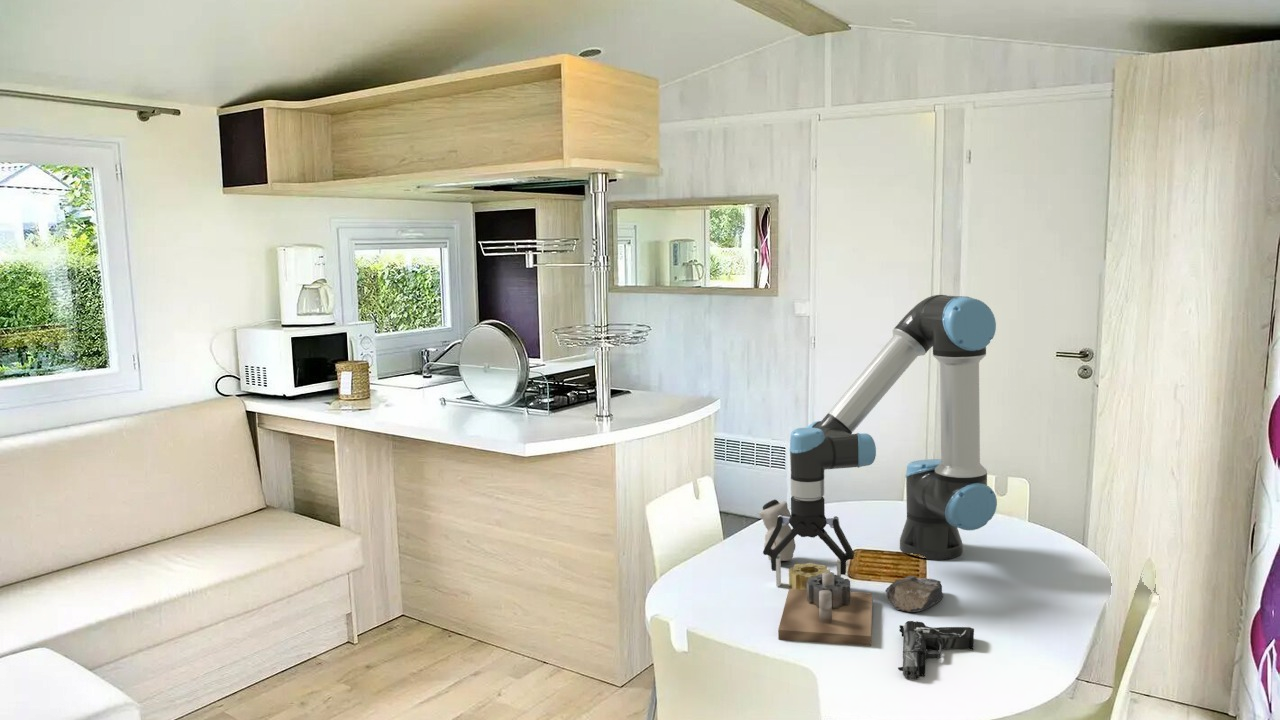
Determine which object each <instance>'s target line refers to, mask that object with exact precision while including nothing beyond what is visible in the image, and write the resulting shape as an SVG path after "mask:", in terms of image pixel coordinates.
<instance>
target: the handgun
mask: <svg viewBox="0 0 1280 720" xmlns="http://www.w3.org/2000/svg"><path fill="white" fill-rule="evenodd" d="M899 633H901V637H903V643H902V645H903V646H902V666H899V667H897V669H898V671H900V672H902V675H903V677H904V678H905V679H907V680H912V681H913V680H918V679H919V678H920V676H923V677H926V661H927V660H930V659H931V660H932V659H934V660H937V659H940V658H941V657H942V651H943V650H972V651H973V650H974V641H975V639H974V638H975V637H974V635H975V629H974V628H973V627H970V626H946V627H945V626H944V627H943V626H942V627H932V626H927V625H925V623H924V622H922V621H917V620H916V621H914V620H908V621H906V622H905V623H904V625H899ZM928 651H936V652H937V653H932V652H928Z"/></svg>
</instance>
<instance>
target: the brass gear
mask: <svg viewBox="0 0 1280 720" xmlns="http://www.w3.org/2000/svg"><path fill="white" fill-rule="evenodd" d="M823 572H831V569H828V566H827V565H825V564H821V565H820V564H818V563H817V564H815V562H807V563H801V564H800V563H796V564H793V567H789V569H788V585H789V587H791V589H804V590H807V583H808V581H807V579H808V578H809V577H815V576H818V575H819V574H822V573H823Z"/></svg>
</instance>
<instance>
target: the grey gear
mask: <svg viewBox="0 0 1280 720" xmlns="http://www.w3.org/2000/svg"><path fill="white" fill-rule="evenodd" d="M807 581H808V583H807V601H808V602H809V603H813V604H815V605H816V606H817V607H819V591H821V590H829V591H831V592H832V608H839V606H842V605H848V604H849V603H850V592H851V580H850V579H849V578H844V577H842V575H841V576H839V575H837V574H834V585H829V586H827V585H823V584H822V574H819V575H818V576H815V577H809V578H808V579H807Z"/></svg>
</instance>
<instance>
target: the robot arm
mask: <svg viewBox="0 0 1280 720" xmlns="http://www.w3.org/2000/svg"><path fill="white" fill-rule="evenodd" d="M996 330H997V322H996V317H995V314H994V313H993V311H992V308H991V307H989V306H988V305H987V304H986V303H985V302H984V301H982V300H980V299H977V298H973V297H970V296H967V295H966V296H962V295H961V296H960V295H947V294H934V295H931V296H928V297H926V298H924V299H923V300H921V301H920V302H918V303H917V304H915V305H914V307H912V308H911V309H910V310H909V311H908V312H907V313H906V314H905V315H904V316H903V318H902V319H901V320H900V321H899V322H898V323H897V324H896V325H895V327H893V329H892V337H891V338H890V339H889V340H888V342H887V343H885V345H884V346H883V348H882V349H881V350H880V351H879V352H878V353H877V354H876V356H875V357H874V358H873V359H872V361H871V362H870V363H869V364H867V366H866V368H865V369H864V370H863V371H862V373H861V374H859V376H858V377H857V378H856V379H855V381H854V382H853V383H852V385H850V386H849V388H848V389H847V390H846V392H844V393H843V395H842V396H841V397H840V398H839V400H838V401H837V402H836V403H835V405H833V407H832V408H831V409H830V410H829V412H827V414H826V415H825V416H824V417H823V418H822V420H817V421H813V422H812V423H810V424H809V425H808V426H807V427H798V428H795V429H793V430H792V431H791V433H790V439H789V456H790V457H789V459H790V495H791V498H790V514H791V516H790V517H786V516H783V515H782V514H779V516H778V519H777V525H776V527H775V529H774V531H773V533H772V535H771V537H770V539H769V540H768V542H767V544H766V546H765V547H764V548H763V552H762V554H763V555H764V556H767V557H768V556H770V557H771V560H770V563H771V564H770V567H771V570H772V572H775V574H776V575H775V578H776V579H775V583H776V587H780V585H781V583H782V571H781V570H782V569H781V568H782V567H781V562H782V561H781V557H780V555H778V554H779V553H780V552H781V551H782V550H783V549H784V548H785V547H786V546H787V545H788V543H789V542H790V541H791V540H792V539H793V538H794V539H795V538H796V537H797V535H798V536H800V538H806V537H808V538H809V537H810V538H813V539H814V538H815V537H818V538H819V539H820V540H821V541H822V542H824V544H826V546H827V547H828V548H829V550H831V551H832V552H833V554H834V555H835V556H836V557H837V558H836V559H837V560H836V575H839V576H841V577H842V576H846V574H847V561H848V560H851V561H852V560H853V559H854V558H855V557H854V556H855V552H854V550H853V548H852V546H851V545H850V542H849V541H848V538H847V536H846V535H845V533H844V531H843V529H842V528H841V526H840V519H839V517H838V516H833V517H831V518H826V517H827V516H826V513H825V497H824V496H825V470H834V469H849V468H851V469H852V468H862V467H867V466H871V465H872V464H873V463H874V462H875V460H876V457H877V446H876V442H875V440H874V437H873V436H872V435H870V434H869V433H865V432H864V433H859V432H856V433H854V432H855V430H856V429H857V428H858V427H859V426H860V424H862V422H863V421H864V420H865V418H867V416H868V415H869V414H870V413H871V412H872V410H873V409H874V408H875V407H876V406H877V405H878V403H879V402H880V401H881V400H882V398H883V397H885V395H886V394H887V393H888V392H889V390H890V389H892V387H893V386H894V384H895V383H897V381H898V380H899V379H900V377H902V375H903V374H904V373H905V372H906V371H907V369H908V368H909V367H910V366H911V365H912V364H913V362H914V361H915V360H916V359H917V358H918V356H925V355H926V354H927V353H928V351H929V350H930V349H931V348H932V356H933V357H934V358H935V359H936V360H937V361H938V363H939V377H940V378H939V391H940V393H939V395H940V398H939V400H940V451H941V453H940V455H941V457H940V459H918V460H914V461H910V462H909V463H908V464H907V465H906V472H905V482H906V483H905V484H906V486H905V488H906V520H905V523H904V526H903V529H902V532H901V535H900V538H899V550H900V551H901V552H902V553H903V552H905V553H913V554H920V555H923V556H925V557H926V559H925V560H931V561H932V560H935V561H936V560H937V561H938V560H940V561H941V560H949V559H954V558H956V557H959V556H961V555H962V554H963V550H964V549H963V540H962V538H961V535H960V532H959V529H961V530H964V531H975V530H978V529H979V530H980V529H981V528H983V527H985V526H986V525H987V524H988V522H989V521H991V520H992V518H993V517H994V516H995V514H996V511H997V506H998V498H997V495H996V493H995V491H994V490H993V489H992V488H991V487H990V486H988V470H987V469H986V468H985V467H984V466H983V464H981V453H980V452H981V439H980V438H981V435H980V434H981V433H980V432H981V430H980V429H981V428H980V426H981V423H980V362H981V361H982V360H983V359H984V357H986V355H987V346H988V345H990V343H991V340H993V339H994V337H995V335H996V334H995V333H996ZM787 522H789V526H790V527H791V529H792V530H791V531H790V532H789V533H788V534H787V536H786V537H785V538H784V539H783V540H782V541H781V542H780V543H779V544H778V545H777V546H776V547H775V549H774V550H772V549H771V547H772V545H773V543H774V542H775V540H776V538H777V536H778V534H779V532H780V530H781V528H782V526H785V525H786V523H787ZM827 525H829V527H830V528H831V529H833V531H834V533H835V535H836V537H837V539H838V541H839V543H840V544H841V546H842V549H843V550H844V551H843V550H842V549H841V547H840V546H839V545H838V544H837V543H836V542H835V541H834V539H833V538H832V537H831V536H830V535H829V534H828V532H827V530H825V527H826V526H827ZM905 553H904V554H905Z"/></svg>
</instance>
